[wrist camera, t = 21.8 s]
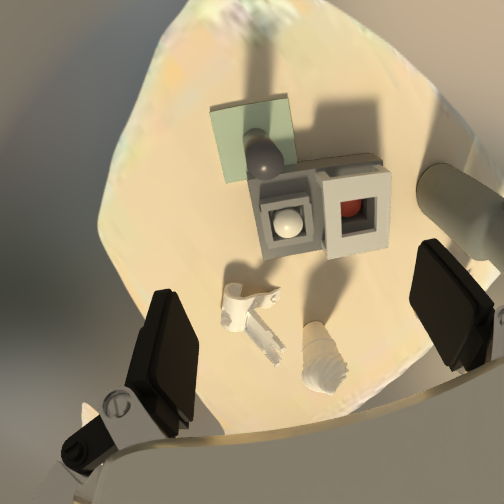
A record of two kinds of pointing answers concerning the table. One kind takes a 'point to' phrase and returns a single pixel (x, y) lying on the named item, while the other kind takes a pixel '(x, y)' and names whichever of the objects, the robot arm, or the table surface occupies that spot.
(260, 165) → the stylus
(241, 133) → the mat
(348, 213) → the breaker button
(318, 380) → the soft serve ice cream cone
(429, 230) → the table surface
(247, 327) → the plastic part
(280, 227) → the on button
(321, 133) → the table surface
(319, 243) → the grey push-button box
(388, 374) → the table surface
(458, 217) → the water bottle
